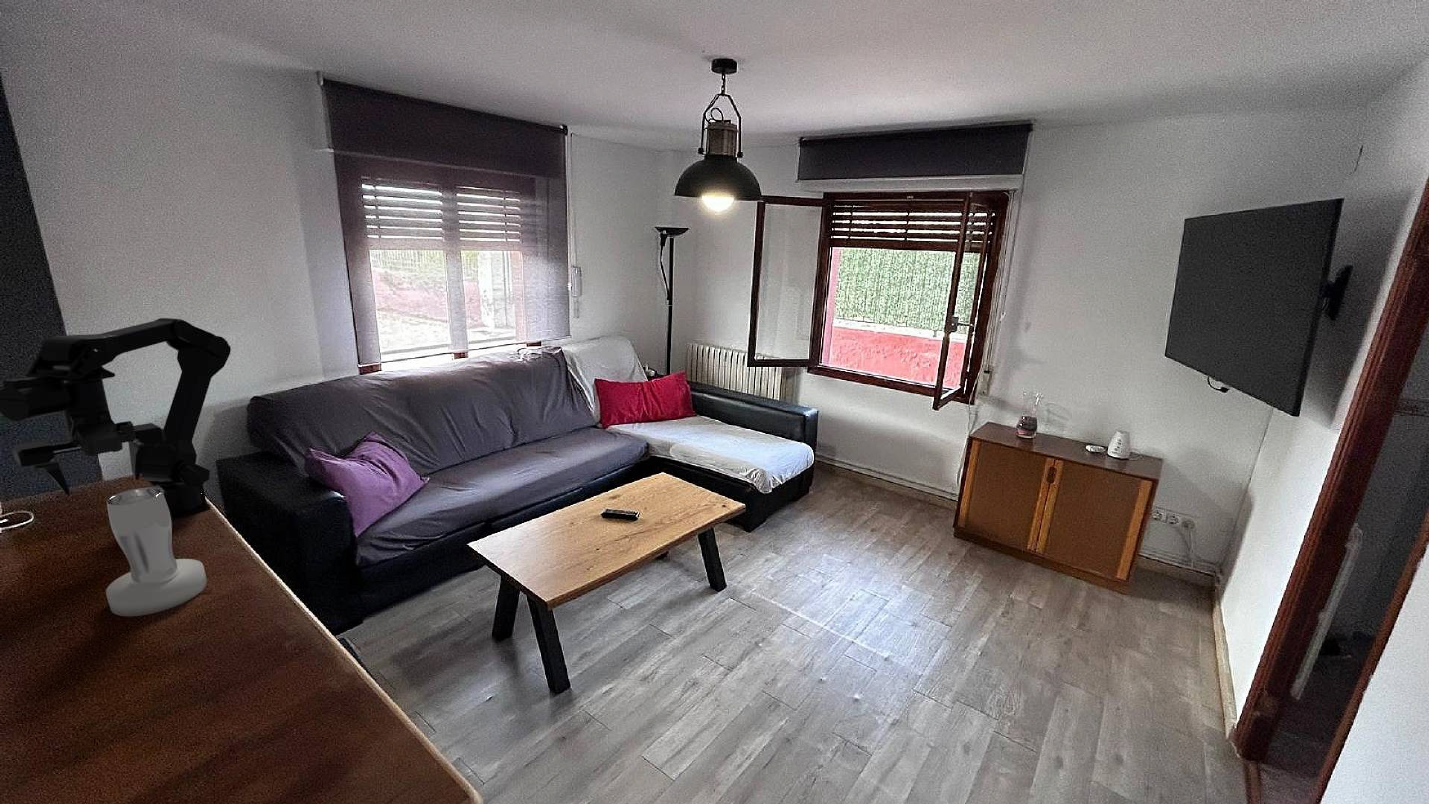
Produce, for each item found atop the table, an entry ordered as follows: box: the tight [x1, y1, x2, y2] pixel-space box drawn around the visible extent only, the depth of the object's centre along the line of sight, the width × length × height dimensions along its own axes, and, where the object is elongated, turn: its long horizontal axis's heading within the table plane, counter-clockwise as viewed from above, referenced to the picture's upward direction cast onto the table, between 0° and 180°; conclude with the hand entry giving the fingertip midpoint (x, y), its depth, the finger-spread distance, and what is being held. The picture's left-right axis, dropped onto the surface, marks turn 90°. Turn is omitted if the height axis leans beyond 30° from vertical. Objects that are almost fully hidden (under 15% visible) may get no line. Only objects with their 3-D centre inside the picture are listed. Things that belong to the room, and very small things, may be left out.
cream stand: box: [105, 558, 208, 617], centre depth 99 cm, size 12×12×3 cm
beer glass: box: [105, 486, 180, 587], centre depth 97 cm, size 7×7×15 cm
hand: (103, 486), depth 110 cm, fingers open, 9 cm apart
